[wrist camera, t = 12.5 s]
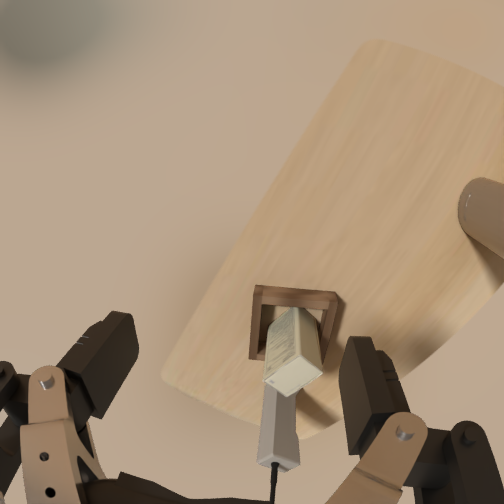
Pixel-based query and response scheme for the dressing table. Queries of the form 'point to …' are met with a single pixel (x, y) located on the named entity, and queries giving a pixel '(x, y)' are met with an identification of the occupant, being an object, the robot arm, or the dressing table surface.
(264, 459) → the vintage mobile phone
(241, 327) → the dressing table surface
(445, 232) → the dressing table surface
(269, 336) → the skincare box
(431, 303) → the dressing table surface
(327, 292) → the walnut holder
